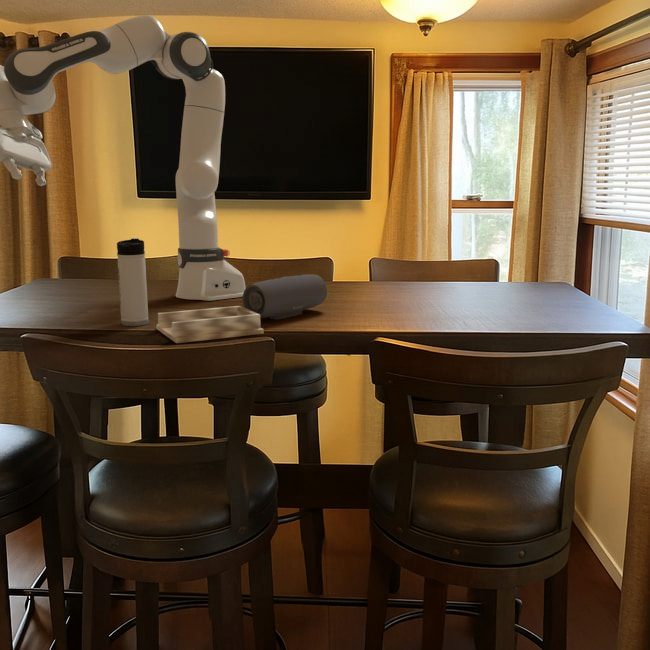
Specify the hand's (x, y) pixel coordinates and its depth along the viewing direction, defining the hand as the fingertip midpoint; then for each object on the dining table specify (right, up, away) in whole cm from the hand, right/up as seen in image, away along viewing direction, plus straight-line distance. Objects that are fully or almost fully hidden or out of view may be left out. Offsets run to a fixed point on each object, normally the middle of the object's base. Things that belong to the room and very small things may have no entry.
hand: (30, 181), depth 166 cm
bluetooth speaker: (+61, -32, +9) cm, 70 cm away
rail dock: (+45, -36, -9) cm, 58 cm away
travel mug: (+26, -34, -1) cm, 43 cm away
